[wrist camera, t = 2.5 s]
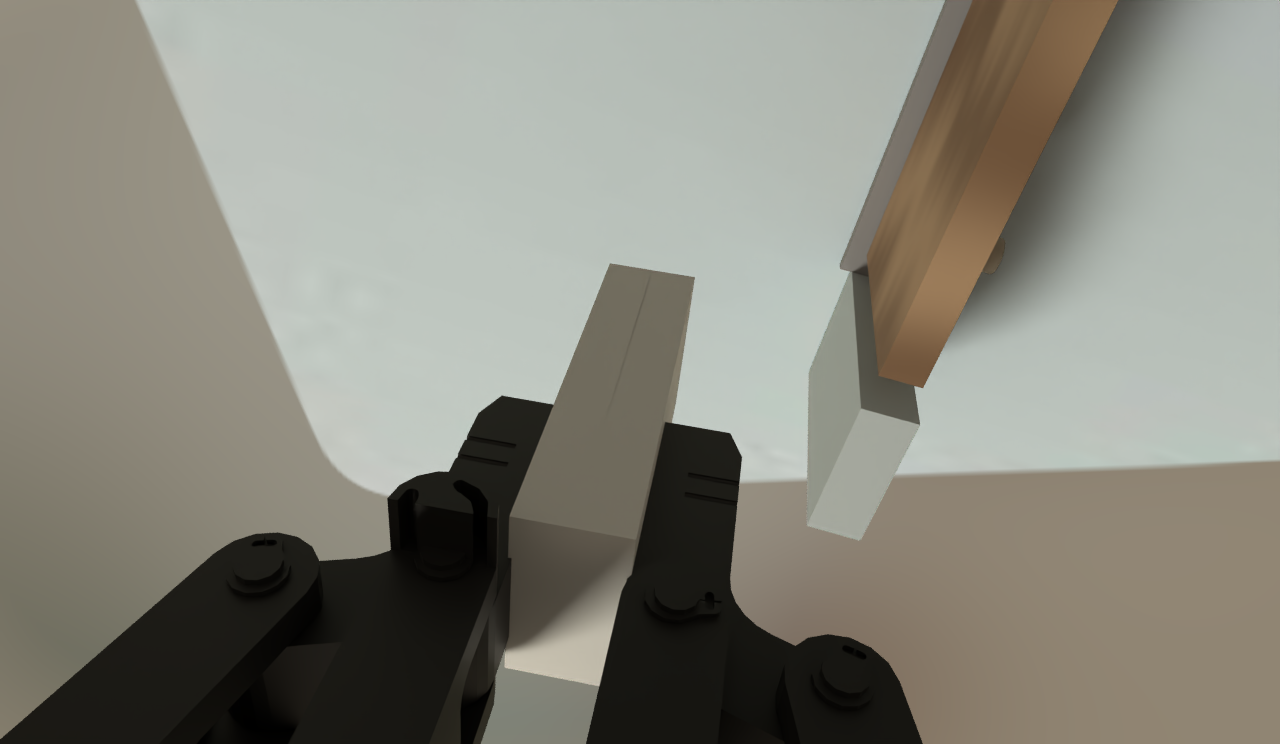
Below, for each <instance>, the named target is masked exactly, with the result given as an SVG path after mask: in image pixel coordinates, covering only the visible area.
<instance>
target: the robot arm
mask: <svg viewBox="0 0 1280 744" xmlns="http://www.w3.org/2000/svg"><path fill="white" fill-rule="evenodd" d="M694 279H695V277H690V276H684V275H678V274H671V273H665V272H659V271H653V270H647V269H641V268H635V267H629V266H622V265H616V264H610V265H609V267H608V270H607V272H606V275H605V277H604V280H603V282H602V285H601V287H600V290H599V292H598V295H597V298H596V300H595V303H594V305H593V308H592V310H591V313H590V315H589V318H588V320H587V323H586V325H585V328H584V330H583V333H582V335H581V338H580V340H579V343H578V345H577V348H576V350H575V353H574V355H573V358H572V360H571V363H570V365H569V368H568V370H567V373H566V375H565V378H564V380H563V383H562V385H561V388H560V390H559V393H558V395H557V398H556V400H555V403H554V405H552V404H547V403H541V402H535V401H529V400H524V399H518V398H512V397H506V396H501V397H500V398H498V399H497V400H495V401H494V402H493V403H491V404H490V405H489V406H487V407H486V408H485V409H483V410H482V411H481V412H479V414H478V415H477V417H476V419H475V421H474V423H473V425H472V427H471V429H470V431H469V433H468V435H467V440H465V441H464V443H463V445H462V447H461V449H460V451H459V453H458V457H457V458H456V459H455V461H454V463H453V465H452V467H451V469H450V471H449V472H439V471H438V472H433V473H429V474H424V475H419V476H416V477H414V478H412V479H410V480H409V481H407V482H405V483H403V484H401V485H399V486H398V487H397V489H396V490H395V491H394V492H393V493H392V494H391V495H390V496H389V497H388V498H387V499H388V513H389V528H390V542H391V550H390V551H387V552H384V553H382V554H378V555H375V556H370V557H364V558H357V559H343V560H329V561H319V559H318V557H317V556H316V554H315V552H314V550H313V548H312V546H310V545H309V544H307V543H306V542H304V541H303V540H301V539H300V538H298V537H295V536H291V535H286V534H282V533H264V534H254V535H251V536H248V537H245V538H242V539H239V540H235V541H233V542H232V543H230V544H228V545H226V546H225V547H223V548H222V549H220V550H219V551H217V552H216V553H214V554H213V555H212V556H211V557H210V558H208V559H207V560H206V561H205V562H204V563H203V564H201V565H200V566H199V567H198V568H197V569H196V570H195V571H193V572H192V573H191V574H190V575H189V576H188V577H187V578H185V580H183V581H182V582H181V583H180V584H179V585H177V586H176V587H175V588H174V589H173V590H172V591H171V592H169V593H168V594H167V595H166V596H165V597H164V598H162V599H161V600H160V601H159V602H158V603H157V604H155V605H154V606H153V607H152V608H151V609H150V610H149V611H147V612H146V613H145V614H144V615H143V616H142V617H141V618H140V619H138V620H137V621H136V622H135V623H134V624H132V625H131V626H130V627H129V628H128V629H127V630H126V631H125V632H123V633H122V634H121V635H120V636H119V637H118V638H116V639H115V640H114V641H113V642H112V643H111V644H109V645H108V646H107V647H106V648H105V649H104V650H103V651H101V652H100V653H99V654H98V655H97V656H96V657H95V658H93V659H92V660H91V661H90V662H89V663H88V664H86V666H84V667H83V668H82V669H81V670H80V671H79V672H77V673H76V674H75V675H74V676H73V677H72V678H70V679H69V680H68V681H67V682H66V683H65V684H63V685H62V686H61V687H60V688H59V689H58V690H57V691H56V692H54V693H53V694H52V695H51V696H50V697H49V698H47V699H46V700H45V701H44V702H43V703H42V704H40V705H39V706H38V707H37V708H36V709H35V710H34V711H32V712H31V713H30V714H29V715H28V716H27V717H26V718H24V719H23V720H22V721H21V722H20V723H19V724H18V725H16V726H15V727H14V728H13V729H12V730H11V731H9V732H8V733H7V734H6V735H5V736H4V737H3V738H1V739H0V744H481V741H482V738H483V735H484V732H485V729H486V726H487V723H488V720H489V717H490V714H491V711H492V708H493V705H494V695H495V676H496V673H497V670H498V667H499V664H500V661H501V658H502V655H503V652H504V649H505V668H510V669H514V670H520V671H525V672H530V673H535V674H540V675H545V676H550V677H556V678H561V679H566V680H571V681H576V682H581V683H586V684H591V685H596V686H599V691H598V694H597V699H596V703H595V707H594V712H593V716H592V720H591V725H590V729H589V733H588V737H587V742H586V744H923V743H922V740H921V738H920V735H919V732H918V730H917V727H916V724H915V722H914V719H913V716H912V714H911V711H910V708H909V705H908V703H907V700H906V697H905V695H904V692H903V690H902V687H901V684H900V681H899V680H898V678H897V676H896V675H895V673H894V671H893V670H892V668H891V666H890V665H889V663H888V662H887V661H886V660H885V659H883V658H882V657H881V656H880V655H879V654H878V653H877V652H875V651H874V650H873V649H872V648H871V647H868V646H866V645H864V644H862V643H860V642H858V641H856V640H854V639H851V638H848V637H842V636H835V635H829V634H827V635H821V636H817V637H810V638H807V639H806V640H804V641H803V642H801V643H800V644H798V645H796V646H794V645H792V644H790V643H788V642H786V641H784V640H782V639H779V638H778V637H775V636H773V635H771V634H770V633H768V632H766V631H765V630H763V629H761V628H760V627H758V626H756V625H755V624H754V623H753V622H752V621H751V620H750V619H749V618H748V617H746V616H745V615H744V613H743V612H742V611H741V609H740V608H739V606H738V605H737V604H736V602H735V599H734V597H733V594H732V591H731V584H730V573H731V562H732V552H733V542H734V532H735V522H736V512H737V502H738V492H739V481H740V471H741V461H742V456H741V454H740V452H739V450H738V448H737V446H736V444H735V442H734V440H733V438H732V436H731V434H730V433H725V432H720V431H714V430H708V429H702V428H697V427H691V426H685V425H679V424H674V423H672V418H673V413H674V409H675V404H676V397H677V391H678V384H679V378H680V371H681V365H682V358H683V351H684V345H685V338H686V332H687V325H688V319H689V312H690V305H691V299H692V292H693V286H694Z"/></svg>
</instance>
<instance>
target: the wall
mask: <svg viewBox="0 0 1280 744" xmlns="http://www.w3.org/2000/svg"><path fill="white" fill-rule="evenodd" d="M972 1H973V0H945V3H944V5H943V8H942V10H941V13H940V15H939V18H938V20H937V23H936V25H935V28H934V30H933V33H932V35H931V38H930V40H929V43H928V45H927V48H926V50H925V53H924V55H923V58H922V60H921V63H920V65H919V68H918V70H917V73H916V75H915V78H914V80H913V83H912V85H911V88H910V90H909V93H908V95H907V98H906V100H905V103H904V105H903V108H902V110H901V113H900V115H899V118H898V120H897V123H896V125H895V128H894V130H893V133H892V135H891V138H890V140H889V143H888V145H887V148H886V150H885V153H884V155H883V158H882V160H881V163H880V165H879V168H878V170H877V173H876V175H875V178H874V180H873V183H872V186H871V188H870V191H869V193H868V196H867V198H866V201H865V203H864V206H863V208H862V211H861V213H860V216H859V218H858V221H857V223H856V226H855V228H854V231H853V233H852V236H851V238H850V241H849V243H848V246H847V248H846V251H845V253H844V256H843V258H842V261H841V263H840V269H843V270H846V271H850V273H849V275H848V278H847V280H846V283H845V285H844V288H843V290H842V292H841V295H840V297H839V300H838V302H837V305H836V307H835V310H834V312H833V315H832V317H831V319H830V322H829V324H828V327H827V329H826V332H825V334H824V337H823V339H822V341H821V344H820V346H819V349H818V351H817V354H816V356H815V359H814V361H813V363H812V366H811V368H810V371H809V391H808V468H807V526H809V527H813V528H816V529H820V530H824V531H827V532H831V533H834V534H838V535H841V536H845V537H849V538H852V539H856V540H859V541H860V540H861V538H862V536H863V534H864V533H865V531H866V529H867V527H868V525H869V523H870V521H871V519H872V517H873V515H874V513H875V511H876V509H877V507H878V505H879V503H880V502H881V499H882V498H883V496H884V494H885V492H886V490H887V488H888V486H889V484H890V482H891V480H892V478H893V476H894V475H895V473H896V471H897V469H898V467H899V465H900V463H901V461H902V459H903V457H904V455H905V453H906V451H907V449H908V447H909V445H910V444H911V442H912V440H913V438H914V436H915V434H916V432H917V430H918V428H919V426H920V421H919V415H918V408H917V402H916V395H915V388H914V386H913V385H910V384H906V383H903V382H899V381H895V380H892V379H888V378H885V377H881V376H878V366H877V355H876V345H875V335H874V325H873V315H872V304H871V294H870V284H869V274H868V264H867V253H868V251H869V249H870V246H871V244H872V241H873V239H874V237H875V234H876V232H877V229H878V227H879V225H880V222H881V220H882V217H883V215H884V213H885V210H886V208H887V205H888V203H889V201H890V198H891V196H892V193H893V191H894V188H895V186H896V184H897V181H898V179H899V176H900V174H901V172H902V169H903V167H904V164H905V162H906V160H907V157H908V155H909V152H910V150H911V148H912V145H913V143H914V140H915V138H916V136H917V133H918V131H919V128H920V126H921V124H922V121H923V119H924V116H925V114H926V111H927V109H928V107H929V104H930V102H931V99H932V97H933V95H934V92H935V90H936V87H937V85H938V83H939V80H940V78H941V75H942V73H943V71H944V68H945V66H946V63H947V61H948V59H949V56H950V54H951V51H952V49H953V47H954V44H955V42H956V39H957V37H958V35H959V32H960V30H961V27H962V25H963V22H964V20H965V18H966V15H967V13H968V10H969V8H970V6H971V3H972Z"/></svg>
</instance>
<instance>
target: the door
mask: <svg viewBox="0 0 1280 744" xmlns="http://www.w3.org/2000/svg"><path fill="white" fill-rule="evenodd" d="M1117 2H1118V0H973V1H972V3H971V6H970V8H969V10H968V13H967V15H966V18H965V20H964V22H963V25H962V27H961V30H960V32H959V35H958V37H957V39H956V42H955V44H954V47H953V49H952V51H951V54H950V56H949V59H948V61H947V63H946V66H945V68H944V71H943V73H942V75H941V78H940V80H939V83H938V85H937V87H936V90H935V92H934V95H933V97H932V99H931V102H930V104H929V107H928V109H927V111H926V114H925V116H924V119H923V121H922V124H921V126H920V128H919V131H918V133H917V136H916V138H915V140H914V143H913V145H912V148H911V150H910V152H909V155H908V157H907V160H906V162H905V164H904V167H903V169H902V172H901V174H900V176H899V179H898V181H897V184H896V186H895V188H894V191H893V193H892V196H891V198H890V201H889V203H888V205H887V208H886V210H885V213H884V215H883V217H882V220H881V222H880V225H879V227H878V229H877V232H876V234H875V237H874V239H873V241H872V244H871V246H870V249H869V251H868V253H867V264H868V274H869V284H870V294H871V304H872V315H873V325H874V335H875V345H876V355H877V366H878V376H881V377H885V378H888V379H892V380H895V381H899V382H903V383H906V384H910V385H913V386H917V387H920V388H923V387H924V385H925V383H926V381H927V379H928V377H929V375H930V373H931V371H932V369H933V367H934V365H935V363H936V361H937V359H938V357H939V355H940V353H941V351H942V349H943V347H944V345H945V343H946V341H947V339H948V337H949V335H950V333H951V331H952V330H953V328H954V326H955V324H956V322H957V320H958V318H959V316H960V314H961V312H962V310H963V308H964V306H965V304H966V302H967V300H968V298H969V296H970V294H971V292H972V290H973V288H974V286H975V284H976V282H977V280H978V278H979V276H980V274H981V272H984V273H988V274H992V273H994V272H995V271H996V269H997V268H998V266H999V264H1000V262H1001V260H1002V257H1003V254H1004V249H1005V240H1004V239H1003V238H1000V237H999V236H1000V234H1001V232H1002V230H1003V228H1004V226H1005V224H1006V222H1007V220H1008V218H1009V216H1010V214H1011V212H1012V210H1013V208H1014V206H1015V204H1016V202H1017V200H1018V198H1019V197H1020V195H1021V193H1022V191H1023V189H1024V187H1025V185H1026V183H1027V181H1028V179H1029V177H1030V175H1031V173H1032V171H1033V169H1034V167H1035V165H1036V163H1037V161H1038V159H1039V157H1040V155H1041V153H1042V151H1043V149H1044V147H1045V145H1046V143H1047V141H1048V139H1049V137H1050V135H1051V133H1052V131H1053V129H1054V127H1055V125H1056V123H1057V121H1058V119H1059V117H1060V115H1061V113H1062V111H1063V109H1064V107H1065V105H1066V103H1067V101H1068V99H1069V97H1070V95H1071V93H1072V91H1073V89H1074V87H1075V85H1076V83H1077V81H1078V79H1079V77H1080V75H1081V73H1082V71H1083V69H1084V67H1085V65H1086V64H1087V62H1088V60H1089V58H1090V56H1091V54H1092V52H1093V50H1094V48H1095V46H1096V44H1097V42H1098V40H1099V38H1100V36H1101V34H1102V32H1103V30H1104V28H1105V26H1106V24H1107V22H1108V20H1109V18H1110V16H1111V14H1112V12H1113V10H1114V8H1115V6H1116V4H1117Z"/></svg>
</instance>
